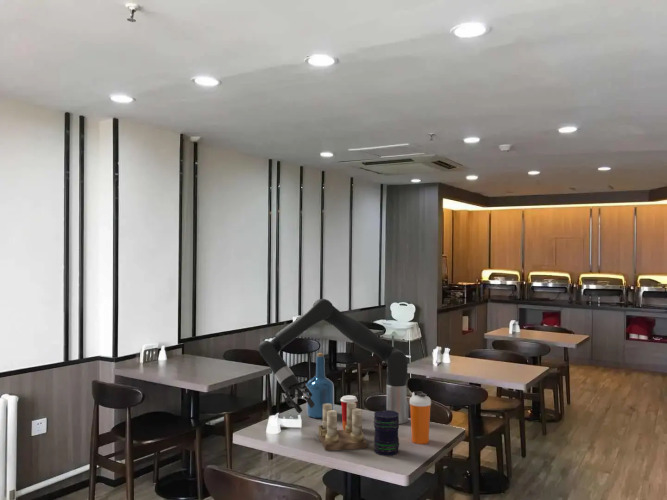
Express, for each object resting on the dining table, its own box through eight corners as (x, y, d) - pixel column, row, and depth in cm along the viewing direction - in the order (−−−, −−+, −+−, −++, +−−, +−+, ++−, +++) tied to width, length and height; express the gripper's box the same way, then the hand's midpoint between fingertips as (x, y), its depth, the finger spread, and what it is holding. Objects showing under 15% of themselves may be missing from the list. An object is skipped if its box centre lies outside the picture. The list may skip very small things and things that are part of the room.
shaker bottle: (417, 446, 223) (417, 396, 224) (405, 439, 231) (405, 392, 232) (435, 442, 227) (435, 394, 228) (422, 436, 235) (422, 389, 236)
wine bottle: (333, 411, 275) (333, 350, 275) (334, 418, 261) (334, 355, 262) (305, 411, 274) (305, 351, 274) (305, 419, 261) (305, 355, 261)
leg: (329, 431, 235) (329, 403, 235) (333, 433, 231) (333, 405, 231) (321, 432, 233) (321, 404, 233) (325, 435, 230) (325, 406, 230)
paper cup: (358, 426, 250) (358, 395, 250) (357, 431, 242) (357, 399, 242) (341, 425, 251) (341, 394, 251) (339, 431, 243) (339, 399, 243)
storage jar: (404, 453, 216) (404, 406, 216) (384, 457, 210) (384, 410, 211) (388, 445, 224) (388, 401, 224) (368, 450, 219) (368, 404, 219)
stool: (357, 434, 238) (357, 401, 238) (366, 447, 221) (366, 411, 222) (318, 436, 235) (318, 403, 235) (325, 450, 218) (325, 414, 218)
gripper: (280, 377, 238) (301, 409, 232) (301, 370, 250) (321, 400, 244) (271, 387, 241) (291, 419, 235) (292, 380, 253) (312, 409, 247)
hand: (307, 409), depth 240 cm, fingers open, 8 cm apart
